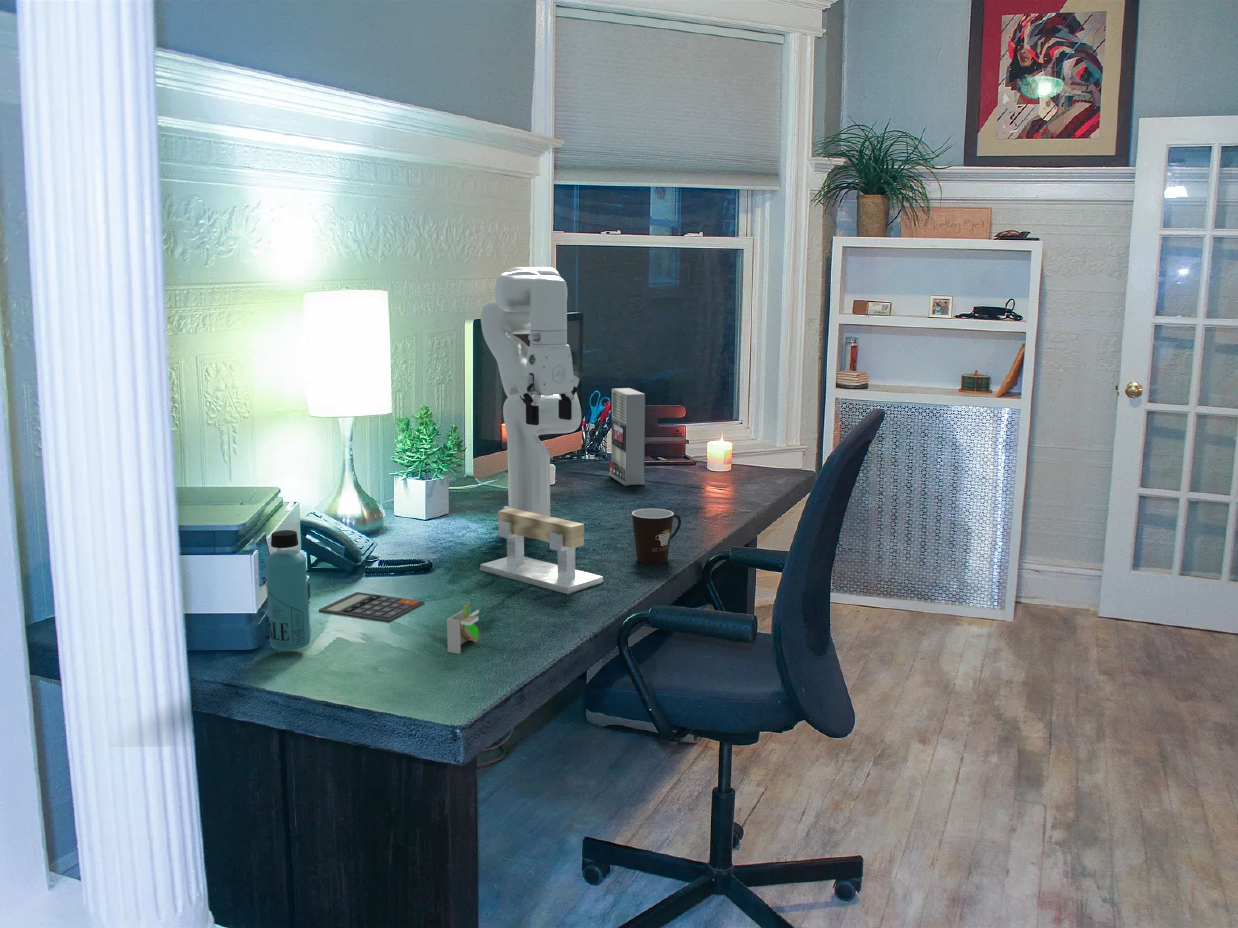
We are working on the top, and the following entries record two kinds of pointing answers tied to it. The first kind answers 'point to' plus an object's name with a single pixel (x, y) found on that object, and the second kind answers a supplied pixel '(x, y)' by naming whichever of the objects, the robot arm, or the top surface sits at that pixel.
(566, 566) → the bracket stand
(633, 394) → the cassette tape recorder
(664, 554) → the coffee mug
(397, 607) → the calculator
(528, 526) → the rail
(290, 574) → the beverage bottle
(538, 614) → the top surface
